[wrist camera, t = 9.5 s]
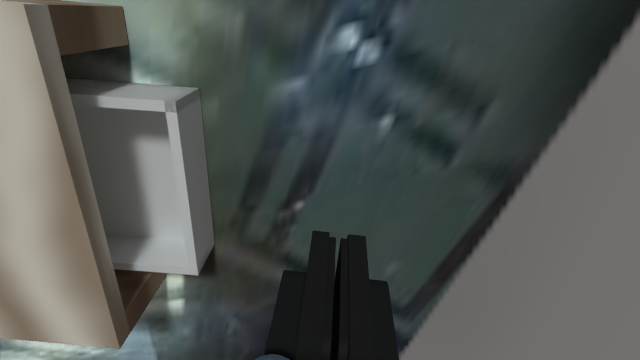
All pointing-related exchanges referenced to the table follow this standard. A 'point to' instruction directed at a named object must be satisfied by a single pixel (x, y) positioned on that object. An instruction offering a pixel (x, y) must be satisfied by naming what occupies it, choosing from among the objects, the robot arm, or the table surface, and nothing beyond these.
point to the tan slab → (56, 186)
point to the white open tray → (147, 172)
